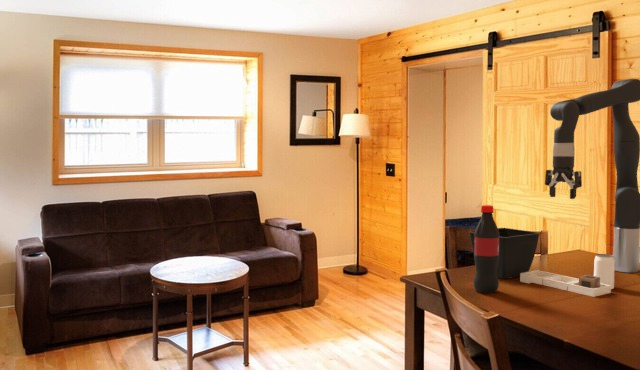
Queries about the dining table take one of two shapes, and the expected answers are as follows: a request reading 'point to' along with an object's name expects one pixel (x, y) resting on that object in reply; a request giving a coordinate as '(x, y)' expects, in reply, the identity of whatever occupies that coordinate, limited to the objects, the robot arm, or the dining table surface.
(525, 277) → the dish
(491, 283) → the cola bottle
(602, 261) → the can
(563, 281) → the dish
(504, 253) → the flower pot
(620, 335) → the dining table surface
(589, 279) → the letter cube
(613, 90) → the robot arm
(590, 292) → the dish
